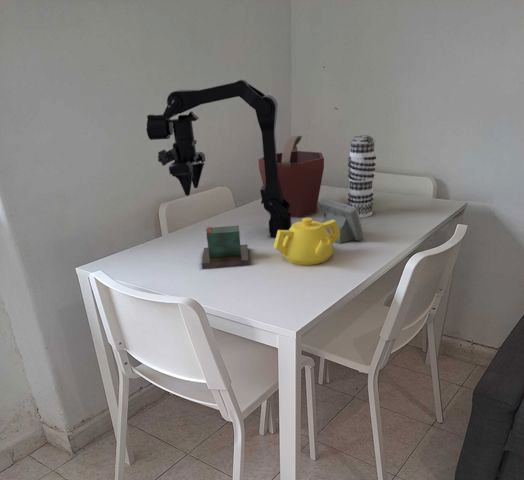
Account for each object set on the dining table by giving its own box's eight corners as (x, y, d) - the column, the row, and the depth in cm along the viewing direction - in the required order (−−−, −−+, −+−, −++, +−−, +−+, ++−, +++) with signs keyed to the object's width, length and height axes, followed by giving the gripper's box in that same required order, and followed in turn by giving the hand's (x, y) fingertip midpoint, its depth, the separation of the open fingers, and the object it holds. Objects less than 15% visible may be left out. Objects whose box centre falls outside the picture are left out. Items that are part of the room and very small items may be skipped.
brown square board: (247, 249, 148) (247, 244, 148) (249, 265, 137) (248, 259, 137) (204, 252, 148) (203, 247, 147) (202, 268, 137) (201, 263, 136)
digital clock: (366, 242, 147) (368, 206, 142) (339, 247, 145) (340, 211, 139) (340, 227, 160) (341, 194, 155) (315, 232, 158) (315, 198, 152)
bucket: (281, 200, 193) (279, 131, 180) (335, 203, 184) (336, 131, 171) (253, 218, 175) (247, 142, 162) (311, 223, 166) (310, 143, 153)
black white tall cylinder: (373, 209, 175) (377, 133, 162) (373, 217, 167) (377, 138, 154) (347, 210, 176) (348, 134, 163) (346, 217, 169) (348, 139, 156)
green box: (240, 248, 144) (238, 224, 141) (241, 255, 140) (238, 230, 136) (210, 251, 144) (207, 227, 141) (209, 258, 140) (206, 233, 136)
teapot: (293, 278, 128) (292, 236, 122) (265, 256, 142) (262, 218, 136) (359, 262, 134) (361, 222, 128) (325, 243, 148) (326, 206, 143)
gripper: (168, 134, 155) (176, 185, 164) (147, 144, 140) (157, 200, 148) (202, 132, 154) (208, 184, 162) (185, 143, 138) (193, 199, 146)
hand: (191, 191), depth 154 cm, fingers open, 9 cm apart
